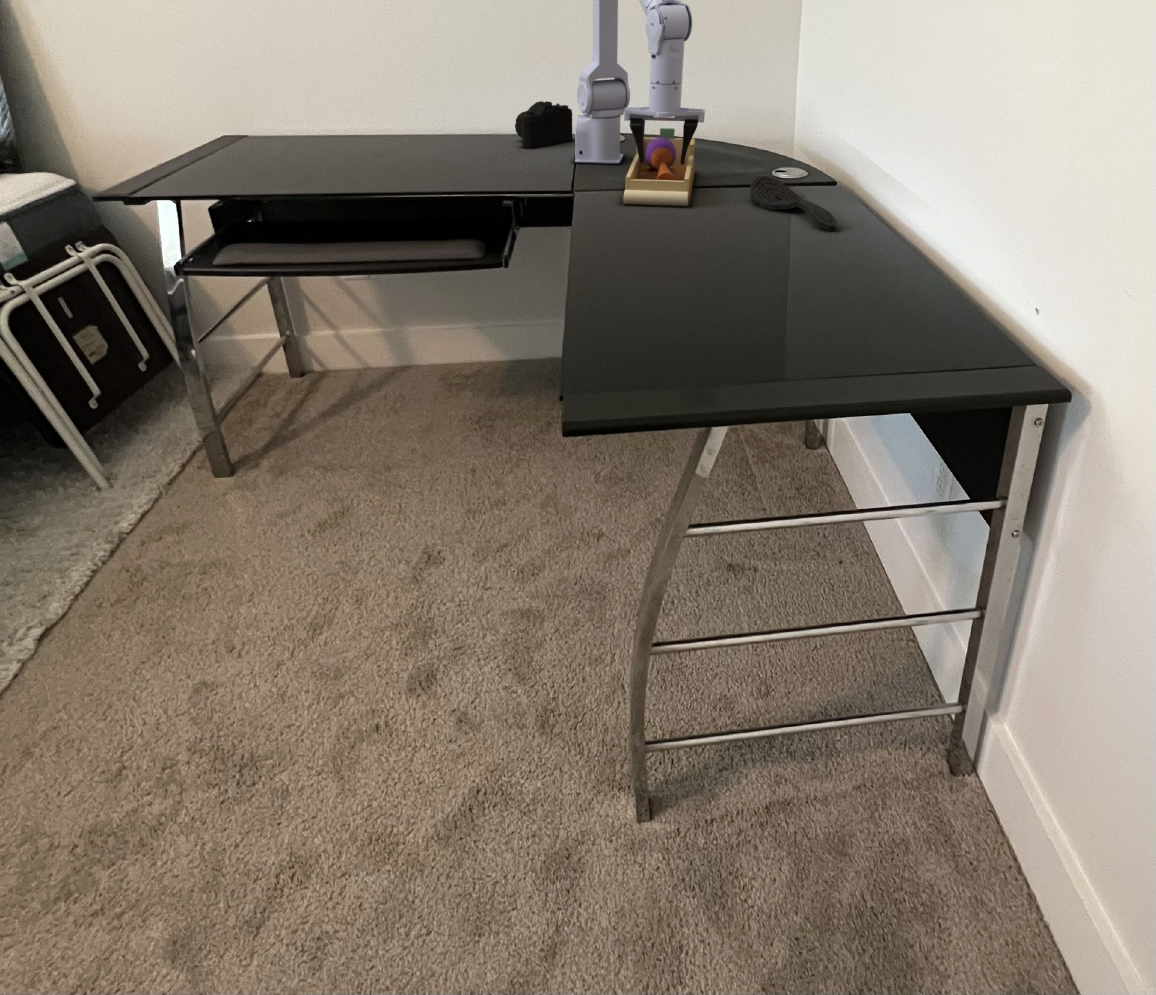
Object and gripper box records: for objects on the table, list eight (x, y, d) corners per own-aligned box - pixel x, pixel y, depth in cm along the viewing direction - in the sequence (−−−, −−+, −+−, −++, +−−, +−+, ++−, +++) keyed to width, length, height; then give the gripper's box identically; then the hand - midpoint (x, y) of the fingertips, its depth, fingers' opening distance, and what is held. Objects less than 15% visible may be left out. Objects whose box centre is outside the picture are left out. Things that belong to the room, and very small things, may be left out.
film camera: (550, 134, 203) (550, 94, 198) (577, 140, 197) (577, 98, 192) (501, 143, 195) (499, 101, 190) (528, 150, 189) (526, 106, 184)
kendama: (646, 168, 149) (642, 137, 165) (651, 201, 152) (647, 167, 168) (680, 162, 148) (672, 131, 164) (684, 195, 152) (676, 162, 167)
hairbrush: (812, 215, 133) (742, 172, 152) (808, 238, 135) (739, 193, 154) (858, 211, 135) (782, 169, 154) (853, 234, 137) (779, 190, 156)
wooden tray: (688, 207, 148) (692, 157, 143) (621, 205, 149) (623, 156, 145) (694, 172, 170) (697, 128, 165) (636, 170, 171) (637, 127, 167)
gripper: (623, 84, 148) (621, 166, 155) (706, 86, 146) (700, 168, 153) (627, 79, 154) (625, 157, 161) (707, 80, 152) (701, 160, 159)
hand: (662, 162), depth 158 cm, fingers open, 7 cm apart
